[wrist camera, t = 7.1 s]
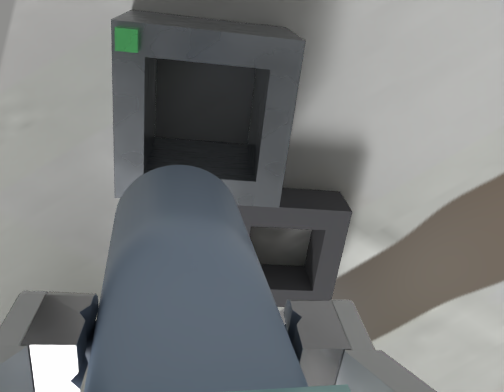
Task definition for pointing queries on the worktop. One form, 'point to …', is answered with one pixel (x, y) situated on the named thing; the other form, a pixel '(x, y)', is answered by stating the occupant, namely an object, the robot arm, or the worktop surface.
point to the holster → (320, 246)
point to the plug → (188, 297)
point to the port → (213, 52)
